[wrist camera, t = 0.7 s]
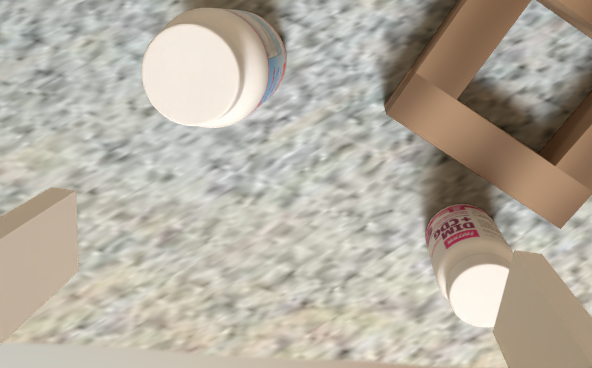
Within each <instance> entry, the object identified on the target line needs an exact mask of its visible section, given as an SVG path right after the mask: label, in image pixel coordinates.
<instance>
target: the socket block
mask: <svg viewBox="0 0 592 368" xmlns="http://www.w3.org/2000/svg"><path fill="white" fill-rule="evenodd" d="M530 1H531V0H458V1H457V3H456V4H455V5H454V7H453V8H452V10H451V11H450V13H449V14H448V15H447V17H446V18H445V20H444V21H443V23H442V24H441V25H440V27H439V28H438V30H437V31H436V33H435V34H434V35H433V37H432V38H431V40H430V41H429V43H428V44H427V45H426V47H425V48H424V50H423V51H422V53H421V54H420V55H419V57H418V58H417V60H416V61H415V63H414V64H413V65H412V67H411V68H410V70H409V71H408V73H407V74H406V75H405V77H404V78H403V80H402V81H401V83H400V84H399V85H398V87H397V88H396V90H395V91H394V93H393V94H392V95H391V97H390V98H389V100H388V101H387V103H386V104H385V105H384V107H385V111H386V114H387V115H389V116H390V117H392V118H393V119H395V120H396V121H398V122H399V123H401V124H402V125H404V126H405V127H407V128H408V129H410V130H411V131H413V132H414V133H416V134H417V135H419V136H420V137H422V138H423V139H425V140H427V141H428V142H430V143H431V144H433V145H434V146H436V147H437V148H439V149H440V150H442V151H443V152H445V153H446V154H448V155H449V156H451V157H452V158H454V159H455V160H457V161H458V162H460V163H461V164H463V165H464V166H466V167H467V168H469V169H470V170H472V171H473V172H475V173H476V174H478V175H479V176H481V177H483V178H484V179H486V180H487V181H489V182H490V183H492V184H493V185H495V186H496V187H498V188H499V189H501V190H502V191H504V192H505V193H507V194H508V195H510V196H511V197H513V198H514V199H516V200H517V201H519V202H520V203H522V204H523V205H525V206H526V207H528V208H529V209H531V210H532V211H534V212H536V213H537V214H539V215H540V216H542V217H543V218H545V219H546V220H548V221H549V222H551V223H552V224H554V225H555V226H557V227H558V228H560V229H561V228H562V227H563V226H564V225H565V223H566V222H567V221H568V220H569V219H570V218H571V217H572V216H573V215H574V214H575V213H576V211H577V210H578V209H579V208H580V207H581V206H582V205H583V204H584V203H585V202H586V201H587V200H588V198H589V197H590V196H591V195H592V91H591V92H590V94H589V95H588V96H587V97H586V98H585V99H584V101H583V102H582V103H581V104H580V105H579V106H578V108H577V109H576V110H575V111H574V112H573V114H572V115H571V116H570V117H569V118H568V119H567V121H566V122H565V123H564V124H563V125H562V127H561V128H560V129H559V130H558V131H557V132H556V134H555V135H554V136H553V137H552V138H551V140H550V141H549V142H548V143H547V144H546V145H545V147H544V148H543V149H542V150H541V151H540V153H539V154H538V153H537V152H535V151H534V150H532V149H531V148H529V147H528V146H526V145H525V144H523V143H522V142H520V141H519V140H517V139H516V138H514V137H513V136H511V135H510V134H508V133H507V132H505V131H504V130H502V129H501V128H499V127H498V126H496V125H495V124H494V123H492V122H491V121H489V120H488V119H486V118H485V117H483V116H482V115H480V114H479V113H477V112H476V111H474V110H473V109H471V108H470V107H468V106H467V105H465V104H464V103H462V102H461V101H459V100H458V97H459V96H460V95H461V93H462V92H463V91H464V89H465V88H466V87H467V85H468V84H469V83H470V81H471V80H472V79H473V77H474V76H475V75H476V73H477V72H478V71H479V69H480V68H481V67H482V65H483V64H484V63H485V61H486V60H487V59H488V57H489V56H490V55H491V53H492V52H493V51H494V49H495V48H496V47H497V45H498V44H499V43H500V41H501V40H502V39H503V37H504V36H505V35H506V33H507V32H508V31H509V29H510V28H511V27H512V25H513V24H514V23H515V21H516V20H517V19H518V17H519V16H520V15H521V13H522V12H523V11H524V9H525V8H526V7H527V5H528V4H529V3H530ZM537 1H538V2H540V3H541V4H542V5H544V6H545V7H547V8H548V9H550V10H551V11H552V12H554V13H555V14H557V15H558V16H560V17H561V18H563V19H564V20H565V21H567V22H568V23H570V24H571V25H573V26H574V27H575V28H577V29H578V30H580V31H581V32H583V33H584V34H585V35H587V36H588V37H590V38H591V39H592V0H537Z"/></svg>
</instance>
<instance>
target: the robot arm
mask: <svg viewBox="0 0 592 368" xmlns="http://www.w3.org/2000/svg"><path fill="white" fill-rule="evenodd" d="M78 271H79V255H78V231H77V207H76V191H74V190H67V189H60V188H50V189H48V190H46V191H45V192H43V193H41V194H39V195H38V196H36V197H34V198H33V199H31V200H29V201H27V202H26V203H24V204H22V205H20V206H19V207H17V208H15V209H13V210H12V211H10V212H8V213H7V214H5V215H3V216H1V217H0V345H1V344H2V343H3V342H4V341H5V340H6V339H7V338H8V337H9V336H10V335H11V334H12V333H13V332H15V331H16V330H17V329H18V328H19V327H20V326H21V325H22V324H23V323H24V322H25V321H26V320H27V319H28V318H29V317H31V316H32V315H33V314H34V313H35V312H36V311H37V310H38V309H39V308H40V307H41V306H42V305H43V304H44V303H45V302H46V301H48V300H49V299H50V298H51V297H52V296H53V295H54V294H55V293H56V292H57V291H58V290H59V289H60V288H61V287H62V286H64V285H65V284H66V283H67V282H68V281H69V280H70V279H71V278H72V277H73V276H74V275H75V274H76V273H77V272H78ZM493 333H494V336H495V338H496V340H497V342H498V345H499V347H500V349H501V351H502V354H503V356H504V358H505V361H506V363H507V365H508V367H509V368H592V317H591V316H590V315H589V314H588V312H587V311H586V310H585V308H584V307H583V306H582V305H581V303H580V302H579V301H578V300H577V298H576V297H575V296H574V295H573V293H572V292H571V291H570V289H569V288H568V287H567V286H566V284H565V283H564V282H563V281H562V279H561V278H560V277H559V275H558V274H557V273H556V272H555V270H554V269H553V268H552V267H551V265H550V264H549V263H548V261H547V260H546V259H545V258H544V256H543V255H542V254H537V253H530V252H522V251H514V254H513V258H512V262H511V266H510V269H509V273H508V277H507V281H506V284H505V288H504V292H503V295H502V299H501V303H500V307H499V310H498V314H497V318H496V322H495V325H494V329H493Z"/></svg>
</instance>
